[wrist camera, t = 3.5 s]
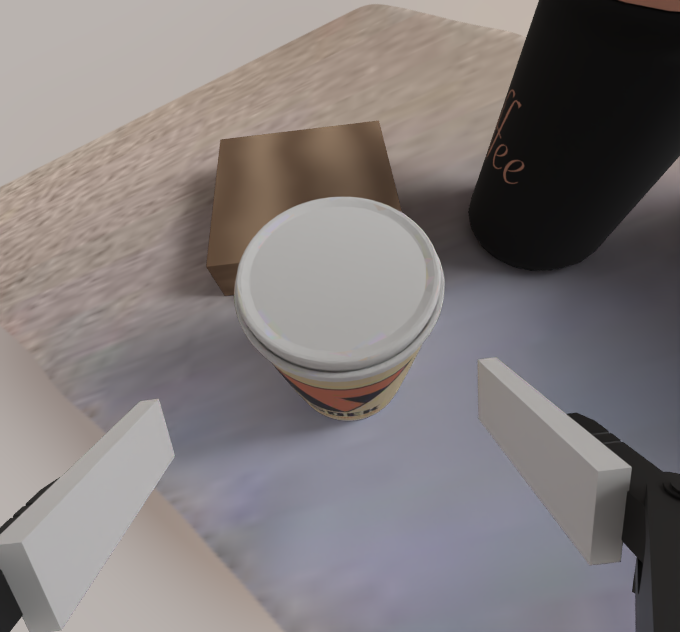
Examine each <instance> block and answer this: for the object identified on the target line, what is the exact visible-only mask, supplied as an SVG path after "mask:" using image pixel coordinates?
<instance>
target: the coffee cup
mask: <svg viewBox="0 0 680 632" xmlns="http://www.w3.org/2000/svg"><path fill="white" fill-rule="evenodd" d="M443 298H444V275H443V270H442V266H441V262H440V260H439V258H438V255H437V253H436V251H435V249H434V246H433V245H432V243H431V241H430V240H429V238H428V237H427V235H426V234H425V232H424V231H423V230H422V229H421V228H420V227H419V226H418V225H417V224H416V223H415V222H414V221H413V220H412V219H410V218H409V217H408V216H406V215H405V214H404V213H402V212H400V211H398V210H396V209H394V208H392V207H390V206H388V205H386V204H383V203H380V202H376V201H373V200H369V199H364V198H357V197H328V198H322V199H317V200H312V201H309V202H306V203H302V204H300V205H297V206H294V207H292V208H290V209H288V210H286V211H284V212H283V213H281V214H279V215H277V216H276V217H275V218H273V219H272V220H271V221H269V222H268V223H267V224H266V225H264V226H263V227H262V228H261V229H260V230H259V232H258V233H257V234H256V235H255V236H254V237H253V238H252V240H251V241H250V243H249V244H248V246H247V247H246V249H245V251H244V253H243V255H242V258H241V260H240V263H239V266H238V271H237V276H236V280H235V287H234V303H235V309H236V313H237V316H238V320H239V322H240V325H241V327H242V329H243V331H244V333H245V335H246V336H247V338H248V339H249V341H250V342H251V343H252V344H253V346H254V347H255V348H256V349H257V350H258V351H259V352H260V353H261V354H262V355H263V356H264V357H265V358H266V359H268V360H269V361H271V363H272V364H273V365H274V366H275V367H276V369H277V370H278V371H279V372H280V373H281V374H282V376H283V377H284V378H285V379H286V380H287V381H288V382H289V384H290V385H291V386H292V387H293V388H294V389H295V390H296V391H297V393H298V394H299V395H300V396H301V397H302V398H303V399H304V400H305V401H306V402H307V403H308V404H309V405H310V406H311V407H312V408H313V409H315V410H316V411H317V412H319V413H321V414H323V415H325V416H327V417H330V418H333V419H337V420H344V421H354V420H360V419H364V418H367V417H369V416H372V415H374V414H376V413H377V412H379V411H380V410H382V409H383V408H384V407H385V406H386V405H387V404H388V403H389V402H390V401H391V400H392V398H393V397H394V395H395V394H396V392H397V391H398V389H399V387H400V385H401V384H402V382H403V380H404V378H405V376H406V374H407V373H408V371H409V369H410V367H411V365H412V363H413V361H414V359H415V357H416V355H417V353H418V351H419V350H420V348H421V346H422V344H423V343H424V341H425V340H426V339H427V337H428V336H429V334H430V333H431V331H432V329H433V328H434V326H435V324H436V322H437V320H438V317H439V315H440V312H441V308H442V305H443Z"/></svg>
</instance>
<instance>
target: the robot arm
mask: <svg viewBox="0 0 680 632" xmlns="http://www.w3.org/2000/svg"><path fill="white" fill-rule="evenodd" d="M478 419H479V420H480V422H481V423H482V424H483V426H484V427H485V428H486V429H487V431H488V432H489V433H490V435H491V436H492V437H493V439H494V440H495V441H496V443H497V444H498V445H499V447H500V448H501V449H502V451H503V452H504V453H505V455H506V456H507V457H508V458H509V460H510V461H511V462H512V464H513V465H514V466H515V468H516V469H517V470H518V472H519V473H520V474H521V476H522V477H523V478H524V480H525V481H526V482H527V483H528V485H529V486H530V487H531V489H532V490H533V491H534V493H535V494H536V495H537V497H538V498H539V499H540V501H541V502H542V503H543V505H544V506H545V507H546V509H547V510H548V511H549V512H550V514H551V515H552V516H553V518H554V519H555V520H556V522H557V523H558V524H559V526H560V527H561V528H562V530H563V531H564V532H565V534H566V535H567V536H568V538H569V539H570V540H571V541H572V543H573V544H574V545H575V547H576V548H577V549H578V551H579V552H580V553H581V555H582V556H583V557H584V559H585V560H586V561H587V563H588V564H589V565H598V564H606V563H614V562H621V554H622V546H623V542H624V543H625V544H626V546H627V547H628V548H629V549H630V550H631V551H632V552H633V553H634V554H635V555H636V556H637V559H636V566H635V574H634V581H633V589H632V592H634V593H635V606H636V632H680V474H678V473H672V472H662V471H661V470H660V469H658V468H657V467H656V466H654V465H653V464H652V463H650V462H649V461H648V460H646V459H645V458H644V457H642V456H641V455H640V454H638V453H637V452H636V451H634V450H633V449H632V448H630V447H629V446H628V445H626V444H625V443H624V442H620V439H618V438H617V437H616V436H614V435H613V434H612V433H609V432H608V430H606V429H605V428H604V427H602V426H601V425H600V424H598V423H597V422H596V421H594V420H592V419H590V418H587V417H585V416H583V415H581V414H578V413H570V414H566V413H564V412H563V411H562V410H561V409H559V408H558V407H557V406H556V405H554V404H553V403H552V402H551V401H550V400H548V399H547V398H546V397H545V396H543V395H542V394H541V393H540V392H538V391H537V390H536V389H535V388H533V387H532V386H531V385H530V384H529V383H527V382H526V381H525V380H524V379H522V378H521V377H520V376H519V375H517V374H516V373H515V372H514V371H512V370H511V369H510V368H509V367H508V366H506V365H505V364H504V363H503V362H501V361H500V360H499V359H498V358H496V357H494V358H486V359H478ZM174 457H175V454H174V450H173V447H172V443H171V440H170V436H169V433H168V429H167V426H166V422H165V419H164V415H163V412H162V408H161V404H160V401H159V399H152V400H144V401H140V402H139V403H138V404H137V405H136V406H134V407H133V408H132V409H131V410H130V411H129V412H128V413H127V414H126V415H125V416H124V417H123V418H122V419H121V420H120V421H119V422H118V423H117V424H116V425H115V426H113V427H112V428H111V429H110V430H109V431H108V432H107V433H106V434H105V435H104V436H103V437H102V438H101V439H100V440H99V441H98V442H97V443H96V444H95V445H94V446H93V447H91V449H89V450H88V451H87V452H86V453H85V454H84V455H83V456H82V457H81V458H80V459H79V460H78V461H77V462H76V463H75V464H74V465H73V466H72V467H71V468H69V469H68V470H67V471H66V472H65V473H64V474H63V475H62V476H61V477H59V478H58V479H56V480H55V481H53V482H52V483H50V484H49V485H47V486H46V487H44V488H43V489H41V490H40V491H39V492H38V493H37V494H36V495H35V496H34V497H33V498H31V499H30V500H29V501H28V502H27V503H26V506H24V507H22V508H21V509H20V510H19V511H17V512H16V513H15V514H14V516H13V518H10V519H9V520H8V521H7V522H6V523H5V524H4V525H3V526H1V528H0V632H10V631H11V630H12V628H13V627H14V626H15V624H16V623H17V622H18V621H19V619H20V618H21V617H23V619H24V621H25V623H26V625H27V628H28V630H29V632H51V631H59V630H62V629H63V627H64V626H65V624H66V623H67V621H68V619H69V618H70V616H71V615H72V613H73V612H74V610H75V609H76V607H77V606H78V604H79V603H80V601H81V600H82V598H83V596H84V595H85V593H86V592H87V590H88V589H89V587H90V586H91V584H92V582H93V581H94V580H95V578H96V577H97V575H98V574H99V572H100V570H101V569H102V567H103V566H104V564H105V563H106V561H107V560H108V558H109V557H110V555H111V553H112V552H113V551H114V549H115V547H116V546H117V544H118V543H119V541H120V540H121V538H122V537H123V535H124V534H125V532H126V531H127V529H128V528H129V526H130V525H131V523H132V521H133V520H134V518H135V517H136V515H137V513H138V512H139V511H140V509H141V508H142V506H143V505H144V503H145V501H146V500H147V498H148V497H149V495H150V494H151V492H152V491H153V489H154V488H155V486H156V485H157V483H158V482H159V480H160V479H161V477H162V476H163V474H164V472H165V471H166V469H167V468H168V466H169V465H170V463H171V462H172V460H173V459H174Z"/></svg>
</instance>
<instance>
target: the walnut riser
mask: <svg viewBox="0 0 680 632" xmlns="http://www.w3.org/2000/svg"><path fill="white" fill-rule="evenodd" d="M328 197H357V198H364V199H369V200H373V201H376V202H380V203H383V204H386V205H388V206H390V207H392V208H394V209H396V210H398V211H400V212H402V210H401V206H400V202H399V199H398V195H397V191H396V187H395V183H394V179H393V175H392V171H391V167H390V163H389V159H388V155H387V151H386V147H385V143H384V139H383V135H382V131H381V127H380V123H379V121H372V122H363V123H355V124H347V125H338V126H330V127H322V128H313V129H305V130H297V131H288V132H280V133H272V134H263V135H255V136H247V137H238V138H230V139H222V140H220V149H219V157H218V166H217V175H216V184H215V193H214V202H213V211H212V219H211V228H210V237H209V246H208V255H207V264H206V267H207V269H208V270H209V272H210V273H211V275H212V277H213V278H214V280H215V281H216V283H217V284H218V286H219V287H220V289H221V290H222V292H223V293H224V295H225V296H229V295H234V287H235V280H236V276H237V271H238V266H239V263H240V260H241V258H242V255H243V253H244V251H245V249H246V247H247V246H248V244H249V243H250V241H251V240H252V238H253V237H254V236H255V235H256V234H257V233H258V232H259V230H260V229H261V228H262V227H263V226H264V225H266V224H267V223H268V222H269V221H271V220H272V219H273V218H275V217H276V216H277V215H279V214H281V213H283V212H284V211H286V210H288V209H290V208H292V207H294V206H297V205H300V204H302V203H306V202H309V201H312V200H317V199H322V198H328Z"/></svg>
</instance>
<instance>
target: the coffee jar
mask: <svg viewBox="0 0 680 632" xmlns="http://www.w3.org/2000/svg"><path fill="white" fill-rule="evenodd" d="M679 156H680V0H539V2H538V5H537V8H536V11H535V14H534V17H533V20H532V23H531V26H530V29H529V31H528V34H527V37H526V40H525V43H524V46H523V49H522V52H521V55H520V58H519V61H518V64H517V67H516V69H515V72H514V75H513V78H512V81H511V84H510V87H509V90H508V93H507V96H506V99H505V102H504V105H503V108H502V110H501V113H500V116H499V119H498V122H497V125H496V128H495V131H494V134H493V137H492V140H491V143H490V146H489V149H488V152H487V154H486V157H485V160H484V163H483V166H482V169H481V172H480V175H479V178H478V181H477V184H476V187H475V190H474V193H473V195H472V198H471V203H470V207H469V211H468V213H469V218H470V223H471V227H472V230H473V232H474V233H475V236H476V237H477V239H478V240H479V242H480V244H481V245H482V247H483V248H484V249H486V250H487V251H488V252H489V253H490V254H492V255H493V256H494V257H495V258H497V259H499V260H501V261H503V262H505V263H507V264H509V265H511V266H514V267H518V268H523V269H527V270H553V269H559V268H563V267H566V266H569V265H573V264H576V263H579V262H581V261H582V260H584V259H585V258H586V257H588V256H589V255H591V254H592V253H593V252H595V251H596V250H597V248H598V247H599V246H600V245H601V244H602V243H603V242H604V241H605V239H606V238H607V237H608V236H609V235H610V234H611V233H612V232H613V230H614V229H615V228H616V227H617V226H618V225H619V224H620V222H621V221H622V220H623V219H624V218H625V217H626V216H627V215H628V213H629V212H630V211H631V210H632V209H633V208H634V207H635V206H636V204H637V203H638V202H639V201H640V200H641V199H642V198H643V197H644V195H645V194H646V193H647V192H648V191H649V190H650V189H651V188H652V186H653V185H654V184H655V183H656V182H657V181H658V180H659V179H660V177H661V176H662V175H663V174H664V173H665V172H666V171H667V170H668V168H669V167H670V166H671V165H672V164H673V163H674V162H675V161H676V159H677V158H678V157H679Z"/></svg>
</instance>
